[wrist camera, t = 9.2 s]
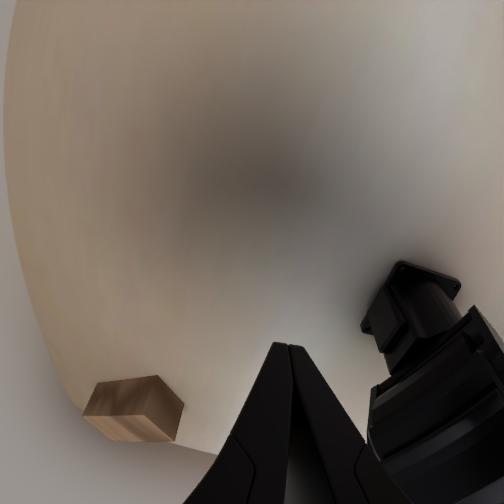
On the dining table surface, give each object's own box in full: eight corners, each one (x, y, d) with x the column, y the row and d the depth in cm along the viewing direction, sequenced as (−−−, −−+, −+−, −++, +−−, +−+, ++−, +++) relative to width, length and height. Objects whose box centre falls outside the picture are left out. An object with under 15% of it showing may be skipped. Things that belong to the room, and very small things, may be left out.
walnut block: (143, 414, 24) (82, 415, 26) (174, 441, 26) (111, 440, 28) (158, 373, 28) (98, 382, 30) (184, 402, 30) (124, 407, 32)
